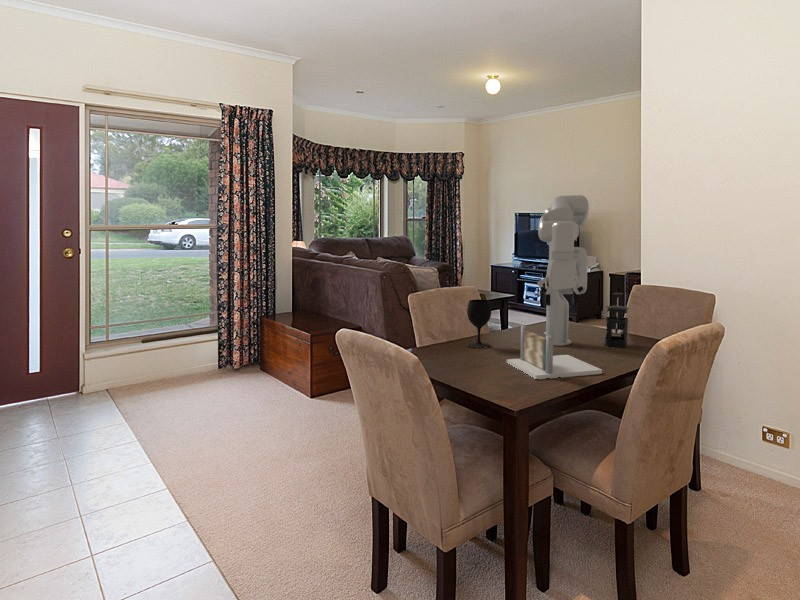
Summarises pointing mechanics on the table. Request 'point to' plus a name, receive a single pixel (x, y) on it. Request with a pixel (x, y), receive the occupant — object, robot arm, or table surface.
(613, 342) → the french press
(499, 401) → the table surface
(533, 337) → the beige wavy patterned slab
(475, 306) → the wine glass
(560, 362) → the white base with posts
